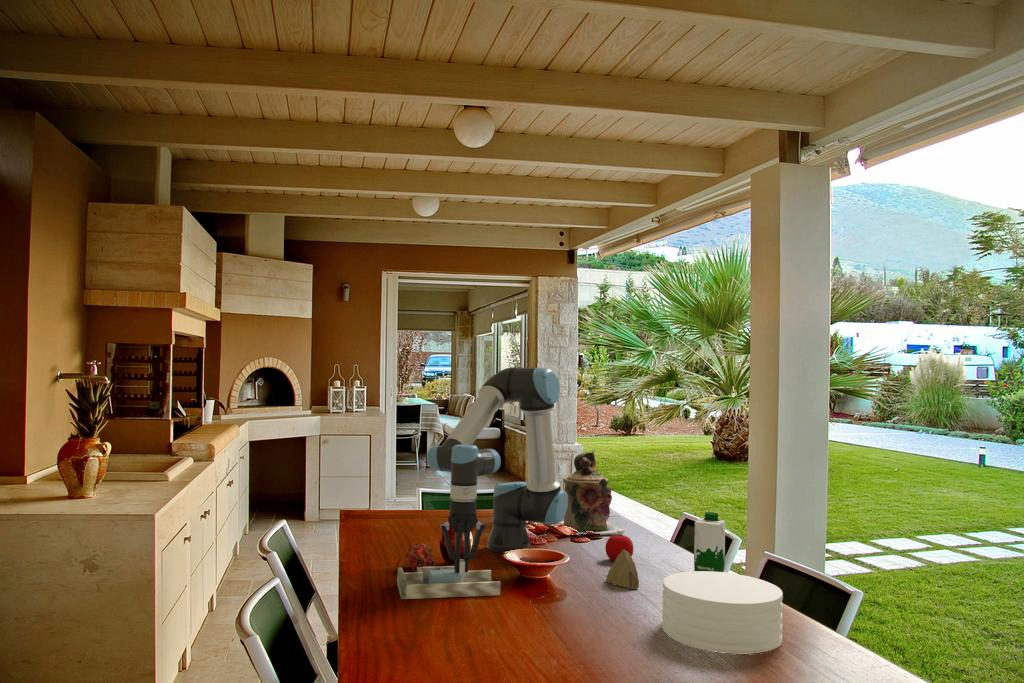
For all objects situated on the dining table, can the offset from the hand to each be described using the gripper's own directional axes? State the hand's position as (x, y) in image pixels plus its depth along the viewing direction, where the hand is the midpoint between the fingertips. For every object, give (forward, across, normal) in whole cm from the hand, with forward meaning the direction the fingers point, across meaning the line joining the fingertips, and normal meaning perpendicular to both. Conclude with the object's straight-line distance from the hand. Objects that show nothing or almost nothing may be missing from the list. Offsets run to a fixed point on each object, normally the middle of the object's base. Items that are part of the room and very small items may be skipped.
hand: (460, 583), depth 214 cm
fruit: (+2, +58, +26) cm, 64 cm away
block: (+2, -5, 0) cm, 5 cm away
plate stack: (+2, +56, -45) cm, 72 cm away
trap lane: (+2, -4, +3) cm, 5 cm away
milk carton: (+2, +77, 0) cm, 77 cm away
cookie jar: (+2, +64, +75) cm, 98 cm away
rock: (+2, +48, -2) cm, 48 cm away
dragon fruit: (+2, -9, +23) cm, 25 cm away
